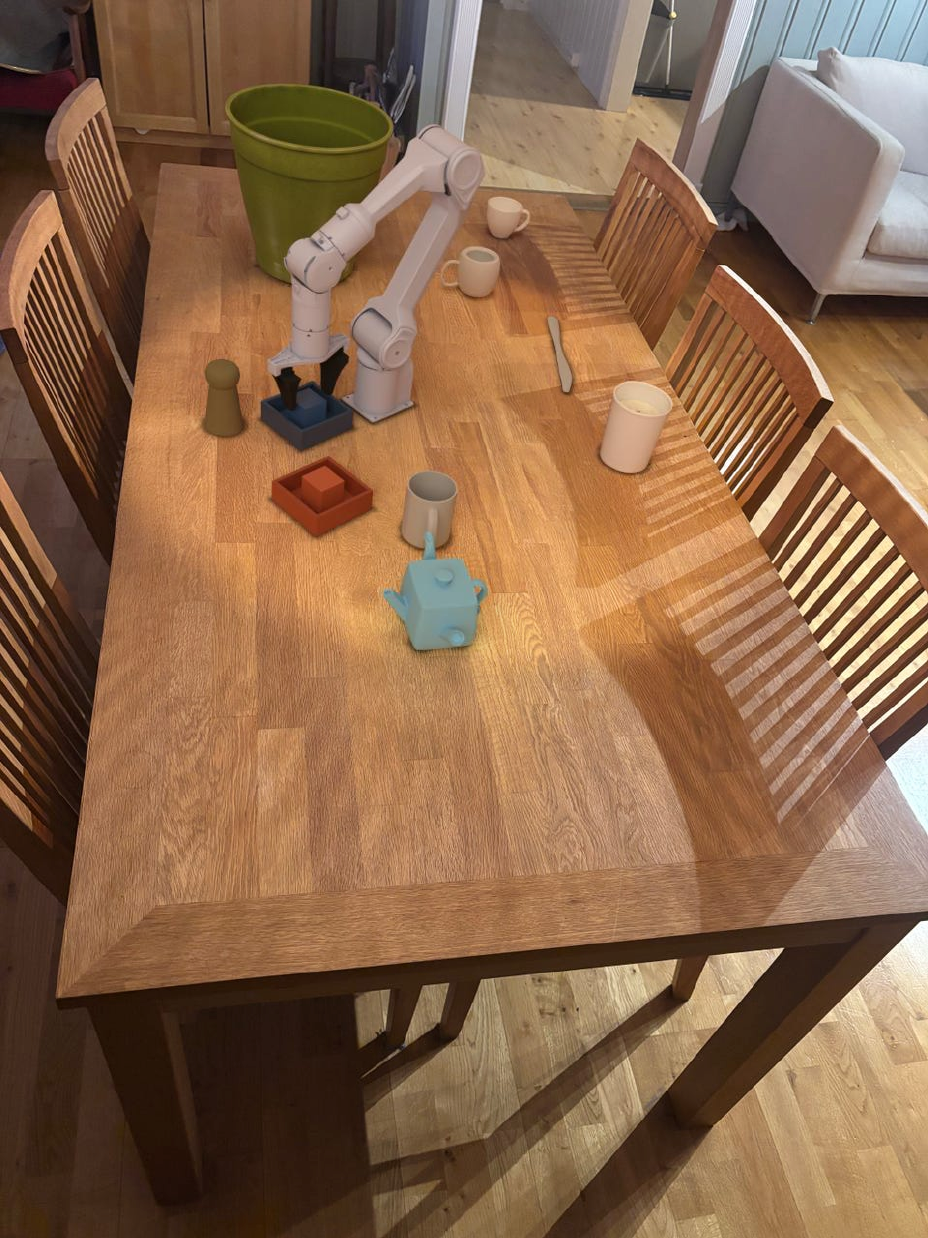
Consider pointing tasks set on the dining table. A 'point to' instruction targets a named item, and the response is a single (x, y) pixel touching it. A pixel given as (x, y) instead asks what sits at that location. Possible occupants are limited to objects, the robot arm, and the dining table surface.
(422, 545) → the cup
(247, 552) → the dining table surface
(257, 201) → the plant pot
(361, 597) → the dining table surface
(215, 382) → the pepper mill
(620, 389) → the candle holder
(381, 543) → the dining table surface
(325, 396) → the blue bin
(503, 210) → the cup
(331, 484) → the terracotta block
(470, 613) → the teapot
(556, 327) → the butter knife
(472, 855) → the dining table surface
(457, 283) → the mug
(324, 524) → the terracotta bin
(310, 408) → the blue block
